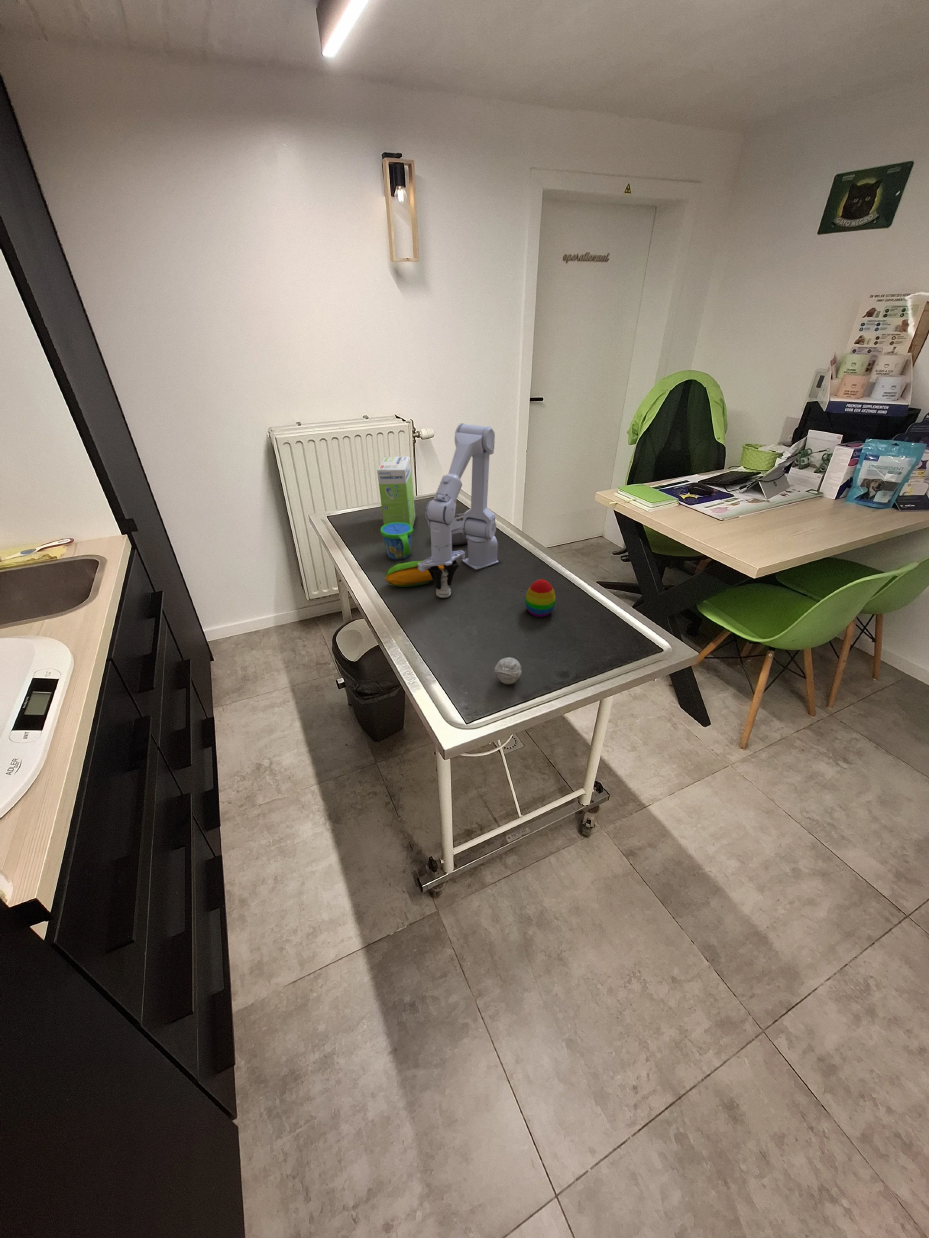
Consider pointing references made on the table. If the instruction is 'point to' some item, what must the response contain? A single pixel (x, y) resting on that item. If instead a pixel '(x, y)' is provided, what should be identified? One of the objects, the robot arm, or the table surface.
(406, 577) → the corn
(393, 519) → the toothbrush box
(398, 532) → the snack cup
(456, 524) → the soft grey pack
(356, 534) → the table surface
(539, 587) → the decorative egg
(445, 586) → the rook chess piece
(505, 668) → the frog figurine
